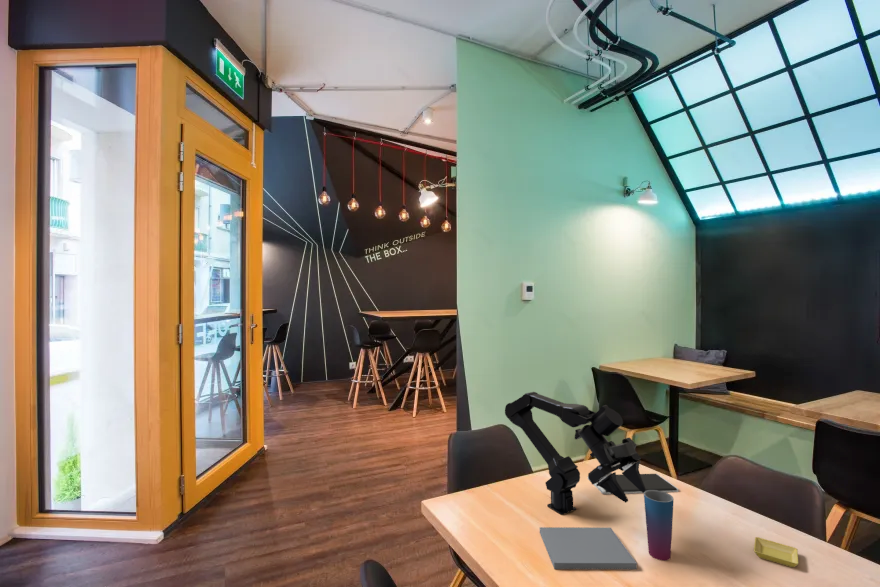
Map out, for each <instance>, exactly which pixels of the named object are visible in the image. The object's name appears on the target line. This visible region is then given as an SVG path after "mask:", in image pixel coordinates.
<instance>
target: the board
mask: <svg viewBox="0 0 880 587" xmlns="http://www.w3.org/2000/svg"><path fill="white" fill-rule="evenodd" d="M539 535H540V537H541V539H542V542H543V544H544V547H545V549H546V551H547V552H546V553H547V554H548V557H549V559H550V562H551V564H552V566H553V569H554V570H638V563H637V561H636V560H635V559H634V557H633V556H632V555H631V553H630V551H629V550H628V549H627V548H626V546H625V545H624V543H623V542H622V541H621V540H620V538H619V536H618V535H617V534H616V533H615V531H614V530H613V528H612V527H594V526H593V527H592V526H591V527H585V526H584V527H574V526H573V527H566V526H563V527H560V526H558V527H557V526H555V527H553V526H552V527H545V526H544V527H541V526H540V527H539Z"/></svg>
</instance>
